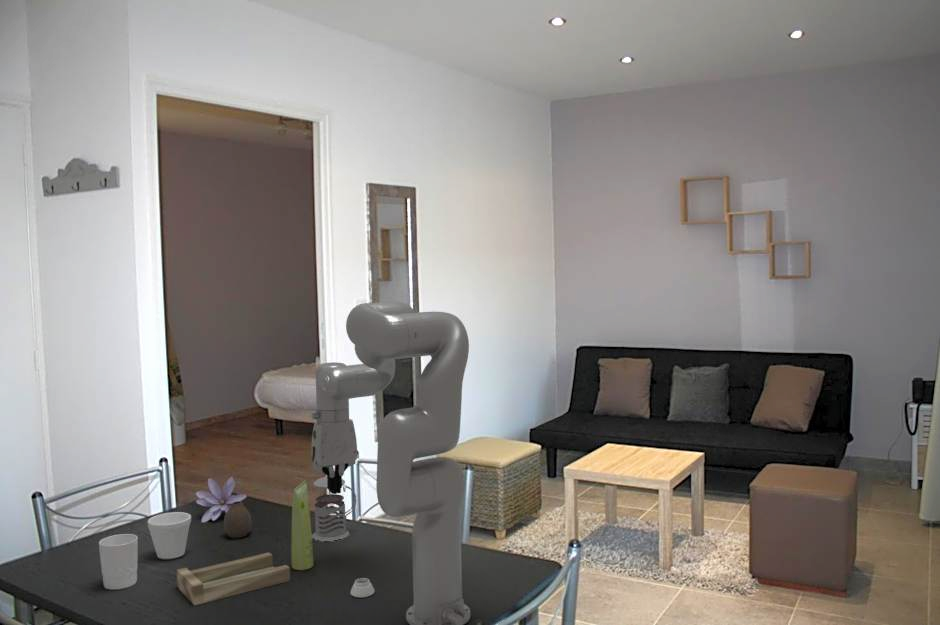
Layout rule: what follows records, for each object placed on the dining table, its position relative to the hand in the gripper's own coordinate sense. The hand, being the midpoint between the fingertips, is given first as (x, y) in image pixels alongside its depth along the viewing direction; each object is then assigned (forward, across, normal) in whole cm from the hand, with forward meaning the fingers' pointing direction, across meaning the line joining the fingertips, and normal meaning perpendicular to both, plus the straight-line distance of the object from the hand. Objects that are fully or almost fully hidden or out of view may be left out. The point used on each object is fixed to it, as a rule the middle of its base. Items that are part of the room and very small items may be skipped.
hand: (334, 492), depth 194 cm
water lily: (+17, -12, +48) cm, 52 cm away
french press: (+16, +7, +16) cm, 24 cm away
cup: (+16, -31, +26) cm, 44 cm away
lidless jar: (+16, -5, -23) cm, 28 cm away
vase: (+16, -13, +30) cm, 37 cm away
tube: (+16, -9, 0) cm, 18 cm away
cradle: (+16, -24, 0) cm, 29 cm away
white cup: (+16, -45, +16) cm, 50 cm away
